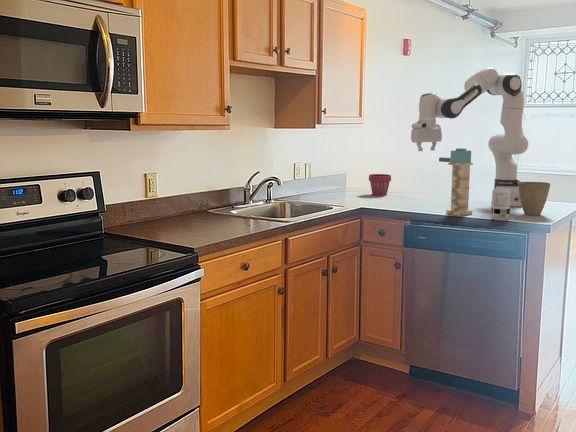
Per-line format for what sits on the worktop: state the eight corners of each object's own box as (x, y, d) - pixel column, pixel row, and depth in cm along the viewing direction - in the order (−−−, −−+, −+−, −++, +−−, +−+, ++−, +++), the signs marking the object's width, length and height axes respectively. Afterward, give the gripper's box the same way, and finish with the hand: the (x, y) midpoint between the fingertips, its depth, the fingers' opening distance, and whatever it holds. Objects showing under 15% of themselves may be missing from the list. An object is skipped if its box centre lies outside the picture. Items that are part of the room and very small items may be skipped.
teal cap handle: (436, 161, 300) (436, 147, 299) (445, 161, 304) (445, 147, 302) (461, 163, 287) (462, 149, 286) (470, 162, 291) (471, 148, 290)
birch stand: (446, 213, 296) (448, 162, 292) (457, 212, 302) (459, 161, 297) (460, 216, 289) (462, 163, 285) (472, 214, 294) (474, 162, 290)
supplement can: (487, 218, 282) (489, 187, 280) (501, 217, 285) (502, 186, 282) (498, 221, 275) (500, 189, 272) (513, 220, 277) (514, 188, 275)
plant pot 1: (394, 195, 368) (395, 175, 366) (374, 196, 364) (374, 176, 362) (384, 193, 382) (385, 173, 380) (364, 193, 378) (365, 174, 376)
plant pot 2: (553, 214, 293) (555, 182, 290) (540, 217, 283) (542, 185, 280) (524, 211, 304) (526, 180, 301) (510, 214, 293) (512, 182, 291)
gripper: (435, 124, 315) (435, 149, 317) (409, 124, 304) (408, 151, 306) (445, 124, 310) (444, 150, 312) (418, 124, 298) (417, 151, 301)
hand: (426, 150), depth 309 cm, fingers open, 8 cm apart
